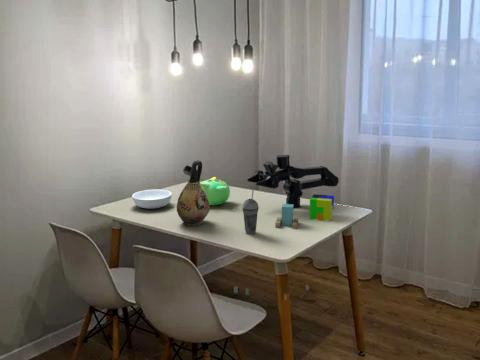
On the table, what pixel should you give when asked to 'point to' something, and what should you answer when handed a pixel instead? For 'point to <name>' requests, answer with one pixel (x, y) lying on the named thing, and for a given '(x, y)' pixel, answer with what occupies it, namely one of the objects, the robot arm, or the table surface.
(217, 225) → the table surface
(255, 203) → the beverage cup
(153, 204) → the serving bowl
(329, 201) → the puzzle toy
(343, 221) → the table surface
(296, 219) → the chute
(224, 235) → the table surface
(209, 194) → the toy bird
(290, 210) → the block
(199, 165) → the ceramic jug
